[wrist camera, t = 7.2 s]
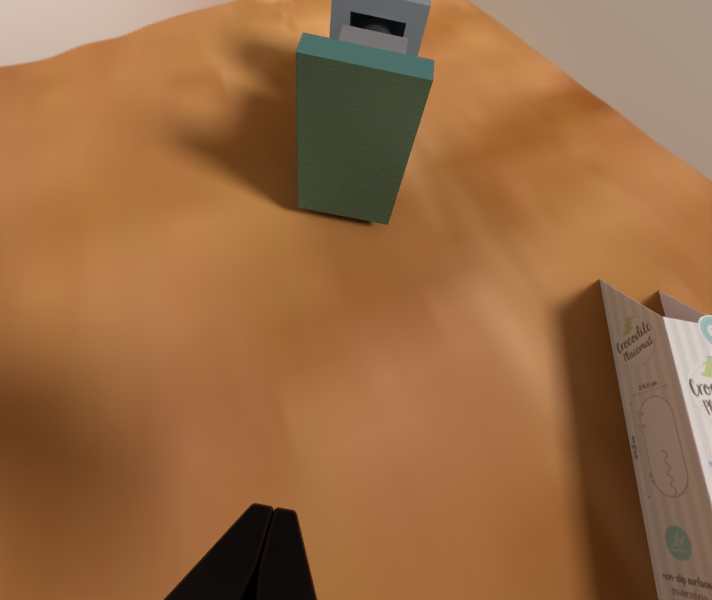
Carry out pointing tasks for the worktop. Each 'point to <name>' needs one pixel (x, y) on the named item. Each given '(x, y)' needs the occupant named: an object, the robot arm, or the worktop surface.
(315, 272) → the worktop surface
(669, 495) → the box
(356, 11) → the socket
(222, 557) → the robot arm
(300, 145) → the teal green slab
